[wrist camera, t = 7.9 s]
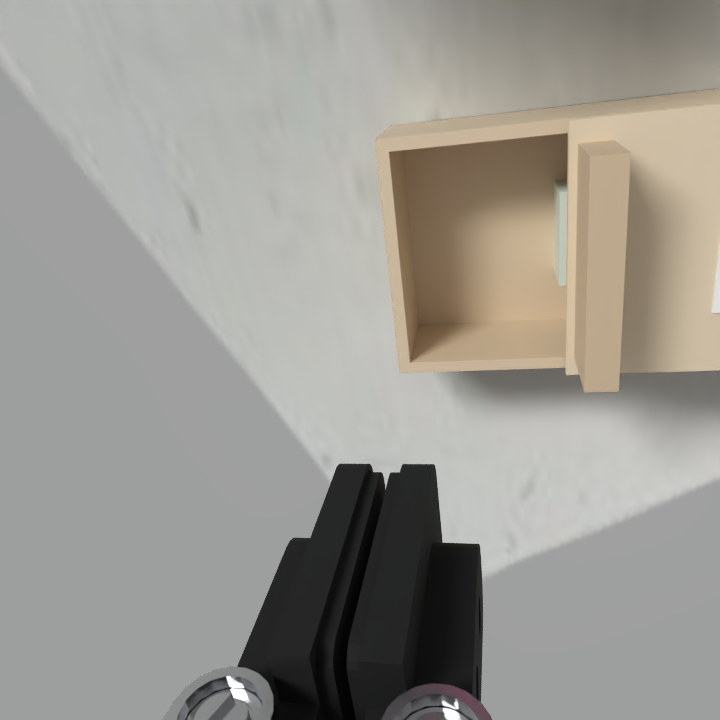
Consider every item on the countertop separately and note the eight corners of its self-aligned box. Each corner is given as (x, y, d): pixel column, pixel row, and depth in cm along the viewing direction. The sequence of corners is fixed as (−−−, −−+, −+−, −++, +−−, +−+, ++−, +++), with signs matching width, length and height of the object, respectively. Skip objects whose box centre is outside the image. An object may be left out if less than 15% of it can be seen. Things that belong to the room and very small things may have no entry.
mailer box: (734, 86, 26) (781, 94, 22) (709, 317, 30) (744, 361, 26) (390, 125, 29) (374, 139, 25) (410, 331, 33) (399, 373, 29)
